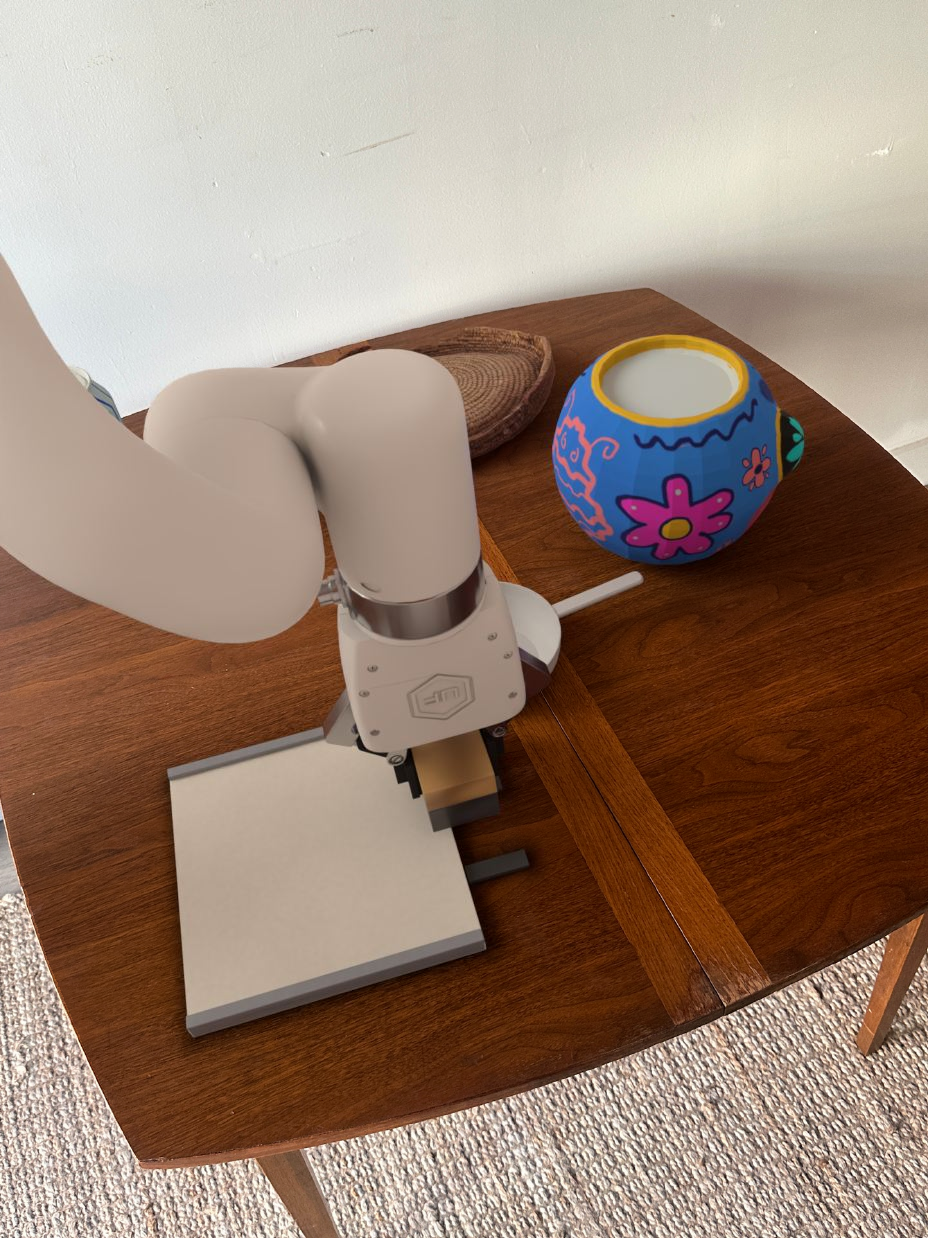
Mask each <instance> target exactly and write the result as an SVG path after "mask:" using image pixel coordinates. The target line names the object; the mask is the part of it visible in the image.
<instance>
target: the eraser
mask: <svg viewBox="0 0 928 1238" xmlns="http://www.w3.org/2000/svg"><path fill="white" fill-rule="evenodd" d="M411 752H412V755H413V759H414V763H415V766H416V770H417V774H418V778H419V782H420V786H421V789H422V793H423V797H424V801H425V805H426V808H427V812H428V815H429V819H430V822H431V826H432V829H433V832H437V831H441V830H444V829H448V828H451V829H452V828H454V827H458V826H461V825H465V824H468V823H472V822H475V821H478V820H481V819H484V818H489V817H492V816H495V815H499V814H501V806H500V800H499V794H498V793H499V792H497V786H496V780H495V774H494V771H493V768H492V765H491V762H490V759H489V757H488V754H487V751H486V748H485V745H484V742H483V739H482V736H481V733H480V731H479V729H477V730H474V731H470V732H467V733H463V734H460V735H456V736H452V737H449V738H445V739H441V740H438V741H434V742H430V743H426V744H423V745H419V746H415V747H411Z"/></svg>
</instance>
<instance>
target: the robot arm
mask: <svg viewBox="0 0 928 1238" xmlns="http://www.w3.org/2000/svg"><path fill="white" fill-rule="evenodd" d="M402 349H403V348H397V349H389V348H382V349H381V348H379V349H375V350H373V349H372V350H373V351H372V350H367V352H363V353H359V354H356V355H353V356H350V357H347V358H345V359H343V360H341V361H339V362H337V363H335V364H333V365H331V364H330V365H331V366H330V365H322V366H321V365H320V366H300V367H298V366H293V367H289V366H287V367H221V368H213V369H205V370H201V371H195V372H193V373H192V372H191V373H189V374H186V375H184V376H181V377H179V378H176V379H175V380H172V382H170V383H169V384H168V385H166V386H164V388H162V390H160V392H159V393H157V395H155V397H154V399H153V400H152V402H151V404H150V405H149V408H148V410H147V413H146V415H145V419H144V426H143V434H142V436H143V438H140V436H138V435H136V434H135V433H133V432H132V431H131V430H130V429H129V428H128V427H126V425H125V424H124V423H123V424H124V425H123V424H122V423H121V422H119V421H118V420H117V419H116V418H115V417H114V416H112V415H111V414H110V413H109V412H108V411H107V410H106V409H105V408H104V407H103V406H102V405H101V404H100V403H99V402H98V401H97V400H96V399H95V398H94V397H93V396H92V395H91V394H90V393H89V392H88V391H87V389H86V388H85V387H84V386H83V385H82V384H81V382H80V381H79V380H78V379H77V378H76V376H75V375H74V374H73V373H72V372H71V371H70V369H69V368H68V367H67V366H68V365H67V363H66V362H65V361H64V359H63V358H62V356H61V355H60V353H59V352H58V351H57V350H56V348H55V347H54V345H53V344H52V342H51V340H50V339H49V337H48V336H47V334H46V332H45V330H44V329H43V328H42V326H41V324H40V322H39V320H38V318H37V316H36V315H35V312H34V311H33V309H32V306H31V305H30V303H29V301H28V300H27V297H26V295H25V293H24V292H23V290H22V288H21V286H20V284H19V282H18V280H17V278H16V276H15V275H14V273H13V271H12V269H11V268H10V266H9V264H8V262H7V260H6V259H5V257H4V256H3V254H2V253H1V252H0V547H1V548H2V549H3V550H4V551H6V553H8V554H9V555H10V556H12V557H13V558H15V559H16V560H17V561H18V562H20V563H21V564H23V565H24V566H25V567H27V568H28V569H29V570H31V572H33V573H35V574H37V575H38V576H40V577H42V578H44V579H45V580H47V581H49V582H51V583H52V584H54V585H55V586H57V587H60V588H61V589H63V590H65V591H67V592H69V593H71V594H74V595H75V596H77V597H80V598H83V599H84V600H87V601H89V602H91V603H94V604H97V605H100V606H102V607H104V608H107V609H109V610H112V611H113V612H114V611H115V612H117V613H119V614H121V615H124V616H126V617H129V618H131V619H133V620H136V621H137V622H141V623H143V624H146V625H148V626H151V627H153V628H156V629H159V630H161V631H165V632H167V633H171V634H175V635H178V636H181V637H185V638H189V639H193V640H198V641H204V642H210V643H217V644H246V643H252V642H253V643H254V642H259V641H262V640H266V639H270V638H272V637H276V636H277V635H279V634H281V633H283V632H284V631H286V630H289V629H290V628H292V627H293V626H294V625H296V623H298V622H299V621H300V620H302V619H303V618H304V617H305V615H306V614H307V613H308V611H310V609H312V606H313V605H314V603H315V601H316V599H317V600H318V603H319V606H320V607H323V606H327V605H331V604H333V605H334V606H337V634H338V648H339V657H340V661H341V667H342V673H343V678H344V682H345V688H344V690H343V691H342V692H341V694H340V696H339V697H338V699H337V700H336V701H335V703H334V705H333V706H332V708H331V709H330V711H329V712H328V714H327V715H326V717H325V719H324V720H323V721H322V724H321V727H323V732H324V736H325V741H326V742H327V743H329V744H334V745H341V746H347V747H352V746H357V747H358V749H359V750H360V751H363V752H367V753H370V754H374V755H378V756H381V757H385V758H386V760H387V763H388V764H389V765H391V766H393V768H394V771H395V775H396V779H397V783H398V784H401V783H405V782H408V783H409V786H410V790H411V794H412V797H413V799H416V798H420V795H423V793H422V789H421V786H420V782H419V778H418V774H417V770H416V766H415V763H414V759H413V755H412V752H411V747H415V746H419V745H423V744H426V743H430V742H434V741H438V740H441V739H445V738H449V737H452V736H456V735H460V734H463V733H467V732H470V731H474V730H477V729H479V731H480V733H481V736H482V739H483V742H484V745H485V748H486V751H487V754H488V757H489V759H490V762H491V765H492V768H493V771H494V774H495V776H498V775H499V776H500V768H499V761H498V757H502V756H505V755H506V749H505V742H504V736H505V735H507V734H508V733H509V726H508V724H509V723H510V722H511V721H512V720H513V719H515V717H516V716H517V715H518V714H519V713H520V712H521V711H522V710H524V709H525V707H527V705H528V700H529V699H530V698H534V697H535V696H536V695H538V694H539V693H540V692H542V691H543V690H544V689H545V688H547V687H548V686H549V685H551V683H552V682H553V677H552V675H551V674H552V673H551V674H550V672H549V670H548V667H547V665H546V663H545V662H543V661H541V660H540V659H538V658H536V657H535V656H533V655H531V654H530V653H528V652H527V651H525V650H523V649H522V648H520V647H518V644H517V639H516V634H515V630H514V625H513V621H512V617H511V613H510V610H509V607H508V604H507V601H506V598H505V595H504V592H503V590H502V588H501V586H500V583H499V582H500V581H499V579H498V578H497V576H496V575H495V573H494V571H493V569H492V568H491V567H490V565H489V563H487V562H486V561H485V560H484V559H483V554H482V552H483V551H482V546H481V538H480V527H479V519H478V510H477V501H476V495H475V485H474V484H475V483H474V477H473V467H472V459H470V451H469V442H468V434H467V426H466V417H465V410H464V405H463V399H462V394H461V391H460V389H459V387H458V384H457V382H456V381H455V379H454V378H453V376H452V375H451V374H450V372H449V371H448V370H447V369H446V368H445V367H444V366H442V365H441V364H440V363H439V362H437V361H436V360H434V359H432V358H430V357H429V356H426V355H423V354H420V353H417V352H413V351H408V350H402ZM319 512H320V513H321V514H322V515H323V517H324V520H325V523H326V527H327V531H328V534H329V539H330V542H331V546H332V549H333V554H334V557H335V561H336V565H337V568H333V574H330V575H327V576H326V577H327V578H324V575H325V570H326V569H325V567H326V555H325V546H324V537H323V532H322V525H321V520H320V515H319V514H320V513H319Z"/></svg>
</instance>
